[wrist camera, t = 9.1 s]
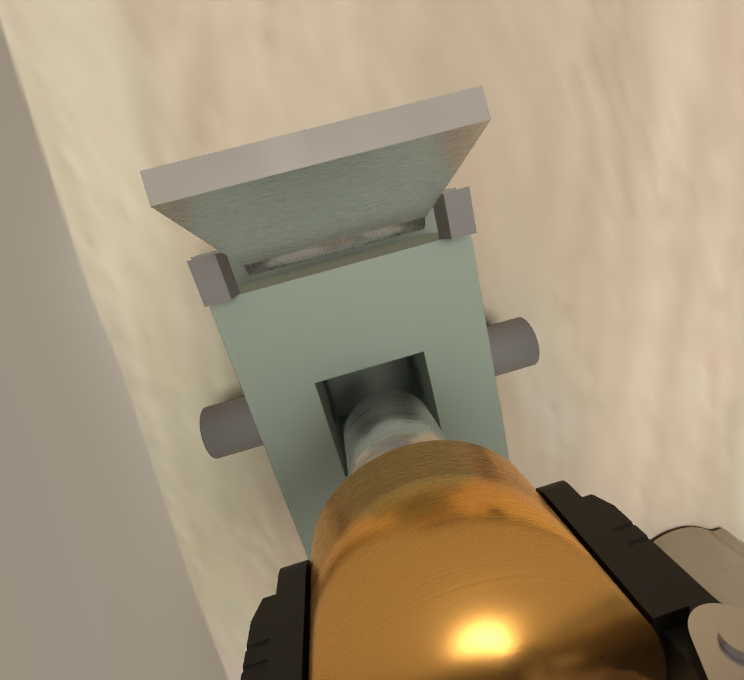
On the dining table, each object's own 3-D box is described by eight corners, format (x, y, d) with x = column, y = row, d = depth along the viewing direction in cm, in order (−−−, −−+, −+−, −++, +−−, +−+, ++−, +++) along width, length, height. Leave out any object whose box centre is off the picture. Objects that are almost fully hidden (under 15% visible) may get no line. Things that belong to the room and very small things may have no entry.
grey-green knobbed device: (475, 182, 22) (561, 153, 14) (517, 444, 27) (596, 527, 19) (168, 264, 21) (78, 280, 13) (273, 519, 26) (253, 639, 18)
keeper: (413, 204, 15) (478, 73, 8) (421, 232, 15) (494, 131, 8) (245, 248, 15) (136, 158, 7) (253, 277, 15) (154, 218, 7)
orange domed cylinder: (444, 343, 15) (663, 529, 6) (470, 470, 17) (669, 777, 7) (294, 387, 15) (249, 668, 5) (337, 512, 16) (363, 893, 7)
